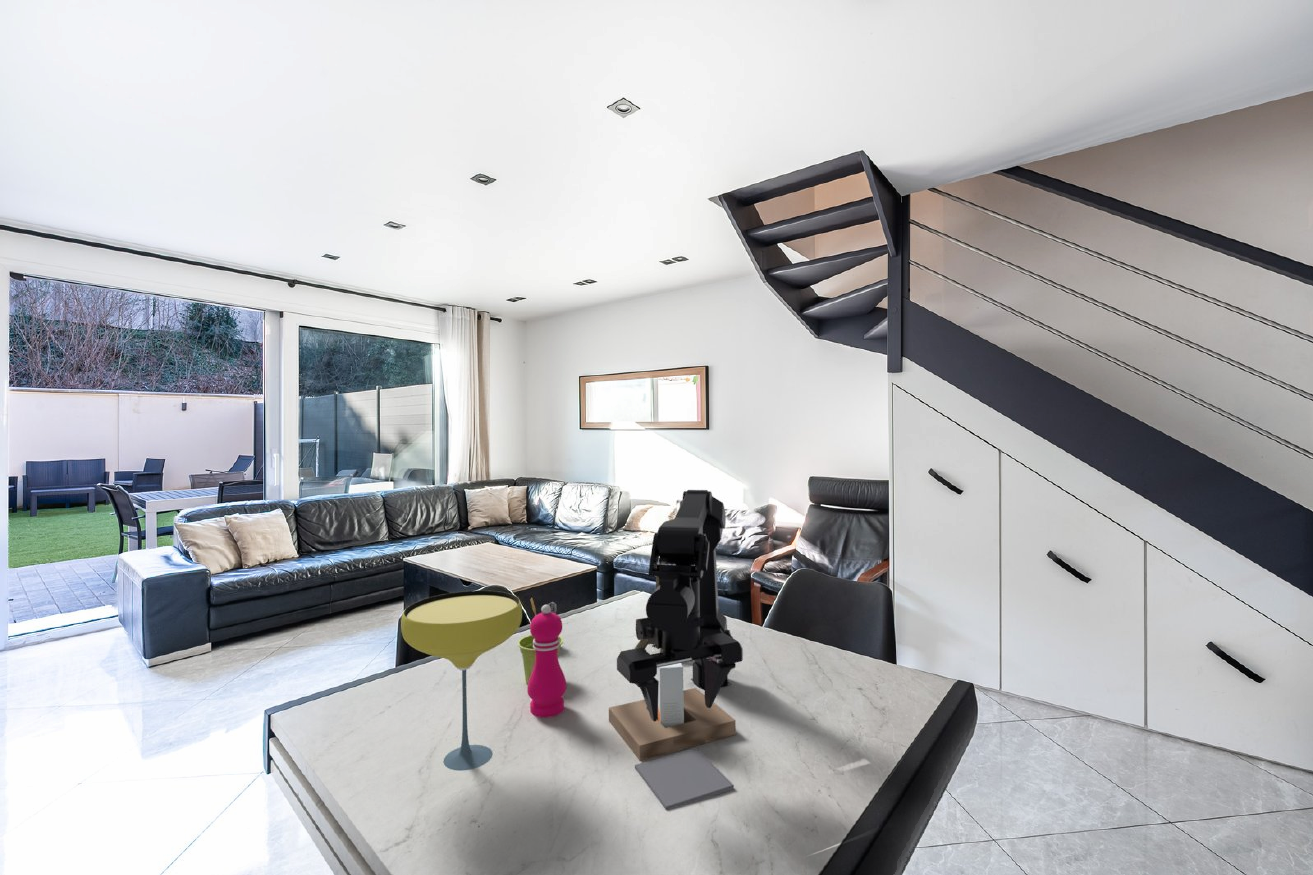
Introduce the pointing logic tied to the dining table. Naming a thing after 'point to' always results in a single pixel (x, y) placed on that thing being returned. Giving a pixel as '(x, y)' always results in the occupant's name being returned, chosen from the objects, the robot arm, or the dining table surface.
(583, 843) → the dining table surface
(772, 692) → the dining table surface
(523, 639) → the plant pot
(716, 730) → the holder block
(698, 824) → the dining table surface
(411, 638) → the cocktail glass
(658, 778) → the coaster
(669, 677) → the skincare box
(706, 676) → the robot arm
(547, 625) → the pepper mill
